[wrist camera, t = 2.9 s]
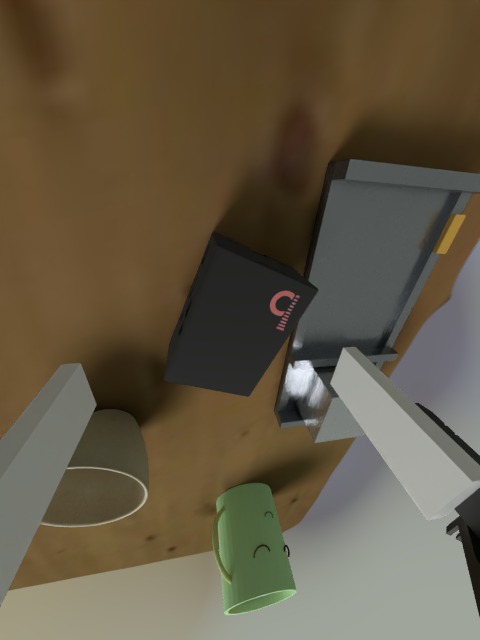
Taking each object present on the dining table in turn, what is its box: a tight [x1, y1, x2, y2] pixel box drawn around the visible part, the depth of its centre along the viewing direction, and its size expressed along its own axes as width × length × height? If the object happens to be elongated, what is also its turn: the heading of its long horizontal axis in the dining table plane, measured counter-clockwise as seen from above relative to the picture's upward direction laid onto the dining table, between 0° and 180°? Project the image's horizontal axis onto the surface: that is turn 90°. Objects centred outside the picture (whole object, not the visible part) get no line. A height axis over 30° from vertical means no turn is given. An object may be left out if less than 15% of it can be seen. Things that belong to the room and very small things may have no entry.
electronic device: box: [164, 232, 318, 396], centre depth 17 cm, size 7×11×5 cm
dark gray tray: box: [274, 159, 480, 443], centre depth 20 cm, size 26×12×6 cm, turn 176°
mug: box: [212, 483, 296, 615], centre depth 34 cm, size 13×10×12 cm
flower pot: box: [40, 409, 149, 527], centre depth 21 cm, size 10×10×7 cm
